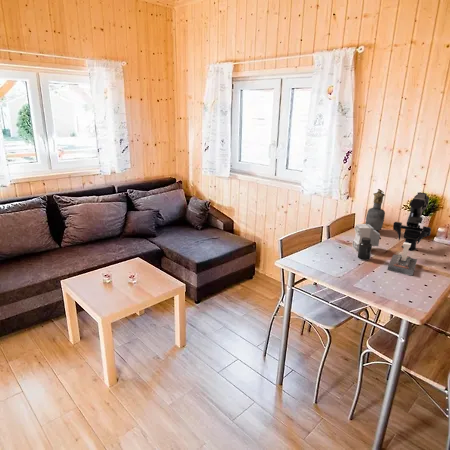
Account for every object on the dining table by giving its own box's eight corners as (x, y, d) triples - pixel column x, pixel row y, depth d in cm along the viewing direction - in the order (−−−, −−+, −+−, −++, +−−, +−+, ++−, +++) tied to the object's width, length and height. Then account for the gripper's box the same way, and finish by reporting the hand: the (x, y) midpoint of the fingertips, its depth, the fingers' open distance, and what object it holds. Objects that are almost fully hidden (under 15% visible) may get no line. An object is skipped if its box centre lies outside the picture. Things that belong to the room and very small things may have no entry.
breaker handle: (400, 258, 192) (403, 242, 188) (407, 259, 190) (411, 243, 187) (399, 260, 189) (403, 243, 186) (407, 261, 187) (410, 245, 184)
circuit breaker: (380, 251, 208) (384, 228, 203) (356, 251, 208) (359, 227, 204) (375, 247, 215) (379, 224, 210) (352, 246, 215) (355, 223, 211)
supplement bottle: (369, 256, 201) (372, 237, 197) (370, 261, 195) (373, 241, 191) (357, 255, 203) (360, 235, 199) (357, 259, 197) (360, 239, 193)
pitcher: (362, 233, 239) (369, 190, 229) (367, 225, 254) (373, 185, 245) (379, 236, 234) (387, 193, 224) (383, 228, 249) (390, 187, 240)
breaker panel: (392, 259, 198) (394, 251, 197) (416, 264, 192) (417, 256, 191) (387, 269, 185) (388, 261, 183) (412, 275, 179) (414, 267, 177)
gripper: (396, 208, 197) (389, 231, 191) (434, 213, 187) (428, 238, 182) (396, 217, 205) (390, 240, 200) (432, 223, 196) (426, 247, 190)
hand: (408, 241), depth 193 cm, fingers open, 9 cm apart
